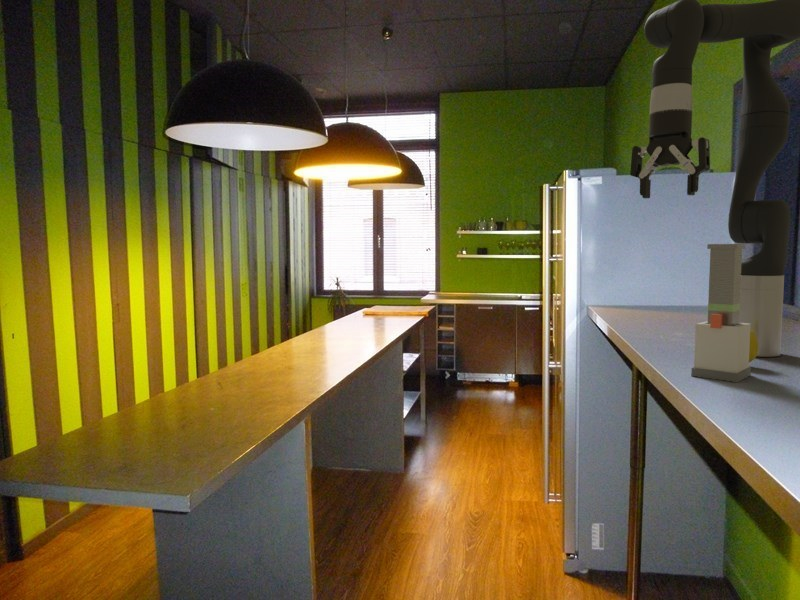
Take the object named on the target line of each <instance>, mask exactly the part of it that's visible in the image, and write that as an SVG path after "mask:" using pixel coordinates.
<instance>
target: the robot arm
mask: <svg viewBox="0 0 800 600" xmlns="http://www.w3.org/2000/svg"><path fill="white" fill-rule="evenodd" d="M643 33H644V37H645V39H646V41H647V42H648V43H649V44H650V45H651V46H653V47H655V48H660V49H666V48H667V50H666V51H665V52H664V53H663V54H662V55H660V56H659V57H658V58H656V59H655V60H654V61H653V65H652V71H651V73H652V74H651V94H650V99H649V100H650V101H649V108H648V110H649V111H648V112H649V123H648V125H649V126H648V129H649V130H648V139H649V140H648V143H647V146H638V145H634V146H633V147H632V148H631V161H630V170H629V171H630V176H631V177H635V178H638V179H639V195H640V196H642V199H650V198H651V181H652V180H651V179H650V178H651V176H652V175H653V173H654V172H655V171H657V170H658V168H659V167H660V166H661V167H667V166H670V165H673V166H679V165H680V164H681V166H682V167H683V168H684V169H685V170H686V171H687V172H688V174H687V181H686V182H687V185H686V186H687V187H686V195H688V196H695V195H696V193H697V192H698V190H699V179H700V175H701V173H704V172H708V171H709V170H710V169H711V153H710V139H708V138H705V137H703V136H701V137H699V138H698V139H695V140H693V139H692V129H693V127H692V126H693V100H694V98H693V97H694V96H693V89H692V88H693V87H692V85H693V84H692V83H693V63H694V61H695V57H696V54H697V51H698V47H699V44H710V43H711V44H712V43H713V44H714V43H724V42H730V41H735V40H739V39H742V59H743V61H742V63H743V75H742V76H743V77H742V79H743V80H742V96H741V106H740V107H741V108H740V114H739V126H738V127H739V128H738V141H737V143H738V144H737V145H738V146H737V157H736V170H735V176H734V177H735V178H734V183H733V189H732V195H731V200H730V206H729V213H728V220H727V221H728V223H727V224H728V225H727V227H728V234H729V237H730V239H731V241H732V242H734V244H762V247H761V249H760V250H759V252H758V253H756V254H754V255H752V256H750V257H748V258H745V259H742V264H741V287H740V310H739V323H749V324H751V327H750V330H751V331H752V332H753V333H754V334H755V335H756V337H757V340H758V353H757V356H756V357H765V358H766V357H767V358H769V357H779V356H781V347H782V329H783V313H784V311H783V309H784V290H785V288H784V287H785V270H786V264H787V258H788V249H789V248H788V246H789V240H790V239H789V238H790V229H791V211H790V207H789V204H788V203H787V202H786V201H785V200H783V199H777V198H776V199H775V198H774V199H762V200H761V199H760V200H759V199H758V200H755V199H756V193H757V188H758V187H759V183H760V180H761V179H762V177H763V175H764V173H766V171H767V169H768V168H769V166H770V165H771V164H772V163H773V162H774V160H775V159H776V157H777V156H778V155H779V153H780V152H781V150H782V149H783V147H784V146H785V144H786V142H787V139H788V137H789V128H790V118H791V105H790V102H789V100H788V98H787V96H786V95H785V93H784V91H783V90H782V88H780V86H779V85H778V83H777V81H776V80H775V78H774V76H773V75H772V70H771V54H772V49H774V48H777V47H778V48H779V47H780V46H784V45H786V44H790V43H792V42H794V41H796V40H799V39H800V0H769V1H761V2H753V3H751V2H750V3H731V4H730V3H705V4H701V3H700V2H699V1H698V0H677V1H675V2H673V3H670V4H669V5H666V6H664V7H662V8H659V9H657V10H655V11H654V12H653V13H651V14H650V15H649V17H648V18H647V19H646V21H645V23H644V27H643ZM693 148H694V150H696V151H697V152H698V153H697V154H698V155H697V156H698V165H696V164H695V162H694V161H693V160H692V158H691V157H690V156H689V153H690V152H691V151H692V149H693ZM646 154H648V155H649V159H648V160H647V162H645V164H644V167H643V158H644V157H646Z"/></svg>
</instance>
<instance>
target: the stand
mask: <svg viewBox="0 0 800 600" xmlns="http://www.w3.org/2000/svg"><path fill="white" fill-rule="evenodd" d="M750 327H751V324H749V323H739V325H737V326H725V325H722V314H711V323H710V324H708V320H706V321H701V322H698V323H695V335H694V337H695V338H694V358H693V359H694V361H693V362H694V363H693V364H694V366H693V367H691V377H694V376H697V377H696V378H701V377H704V378H703V379H709V378H712V379H711V380H716V379H719V380H718V381H723V380H726V381H725V382H730V381H732V382H733V383H739V382H741V381H743V380H745V379H746V378H748V376H749V377H750V375H751V374H752V367H750V365H749V364H750V362H749V349H750ZM744 378H745V379H744Z"/></svg>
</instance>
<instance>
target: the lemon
mask: <svg viewBox="0 0 800 600" xmlns="http://www.w3.org/2000/svg"><path fill="white" fill-rule="evenodd" d="M757 353H758V340H757V337H756V335H755V334H754V333H753V332H752V331H751V330H750V349H749V363H751V362H753V361H754V359H756V358H757V357H758V356H757Z"/></svg>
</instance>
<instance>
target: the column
mask: <svg viewBox="0 0 800 600" xmlns="http://www.w3.org/2000/svg"><path fill="white" fill-rule="evenodd" d="M706 249H707V250H708V249H709V250H710V251H709V279H708V281H709V282H708V300H707V301H708V302H707V321H708V324H710V323H711V314H722V325H725V326H737V325H739V310H740V287H741V264H742V260H743V259H742V257H743V249H746V243H713V244H712V243H707V247H706Z"/></svg>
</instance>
